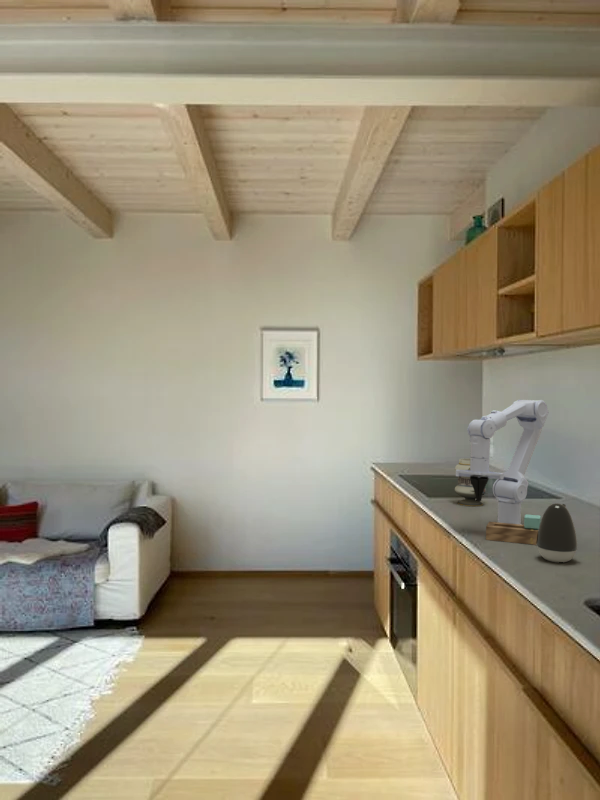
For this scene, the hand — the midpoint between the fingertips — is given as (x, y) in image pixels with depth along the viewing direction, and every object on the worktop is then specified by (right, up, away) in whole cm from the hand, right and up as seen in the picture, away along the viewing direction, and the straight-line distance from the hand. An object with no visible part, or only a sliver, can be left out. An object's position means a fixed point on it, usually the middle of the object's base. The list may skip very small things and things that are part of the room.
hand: (478, 500), depth 196 cm
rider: (+13, -8, -10) cm, 18 cm away
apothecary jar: (+11, -10, +51) cm, 53 cm away
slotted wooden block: (+12, -11, -9) cm, 19 cm away
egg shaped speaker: (+12, -11, -30) cm, 34 cm away
